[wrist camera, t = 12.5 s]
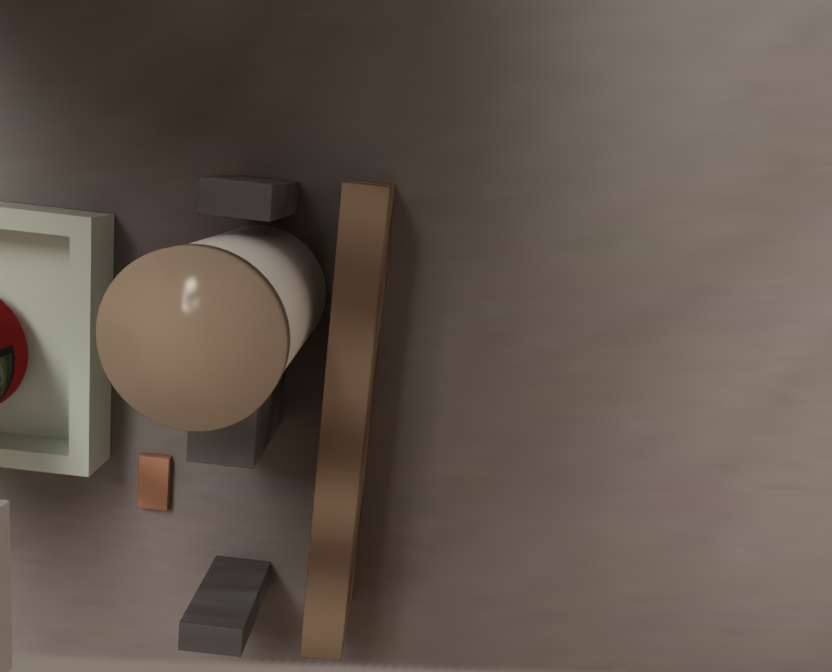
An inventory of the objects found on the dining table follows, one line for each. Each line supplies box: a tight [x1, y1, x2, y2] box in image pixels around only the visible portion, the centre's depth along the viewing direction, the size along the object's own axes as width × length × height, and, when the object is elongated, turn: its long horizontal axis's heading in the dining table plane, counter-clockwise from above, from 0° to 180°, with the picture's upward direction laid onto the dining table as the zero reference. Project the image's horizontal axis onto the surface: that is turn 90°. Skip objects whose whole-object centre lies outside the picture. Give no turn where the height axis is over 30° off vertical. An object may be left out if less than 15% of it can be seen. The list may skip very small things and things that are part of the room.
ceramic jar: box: [96, 225, 326, 431], centre depth 31 cm, size 7×7×11 cm
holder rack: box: [137, 175, 395, 661], centre depth 35 cm, size 23×12×6 cm, turn 174°
